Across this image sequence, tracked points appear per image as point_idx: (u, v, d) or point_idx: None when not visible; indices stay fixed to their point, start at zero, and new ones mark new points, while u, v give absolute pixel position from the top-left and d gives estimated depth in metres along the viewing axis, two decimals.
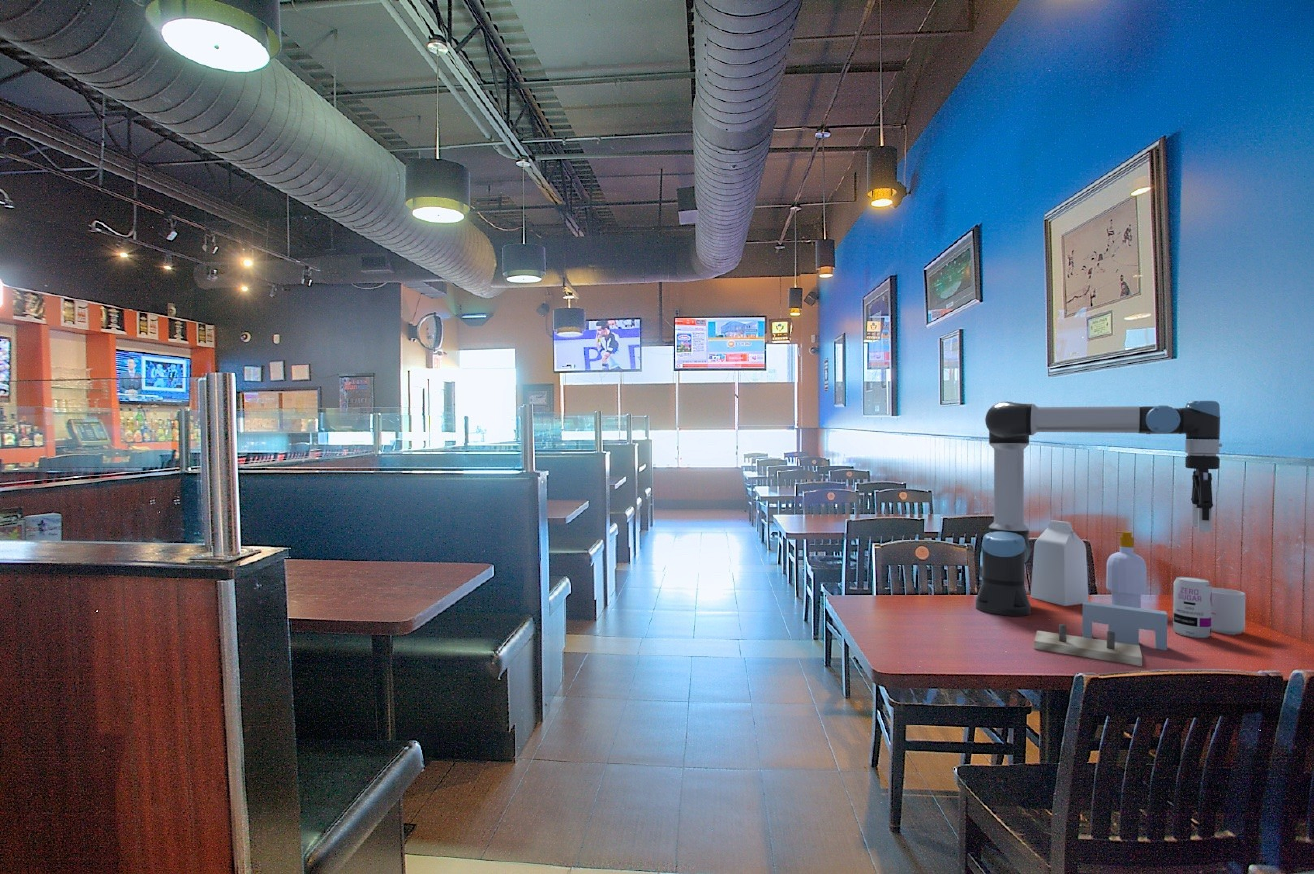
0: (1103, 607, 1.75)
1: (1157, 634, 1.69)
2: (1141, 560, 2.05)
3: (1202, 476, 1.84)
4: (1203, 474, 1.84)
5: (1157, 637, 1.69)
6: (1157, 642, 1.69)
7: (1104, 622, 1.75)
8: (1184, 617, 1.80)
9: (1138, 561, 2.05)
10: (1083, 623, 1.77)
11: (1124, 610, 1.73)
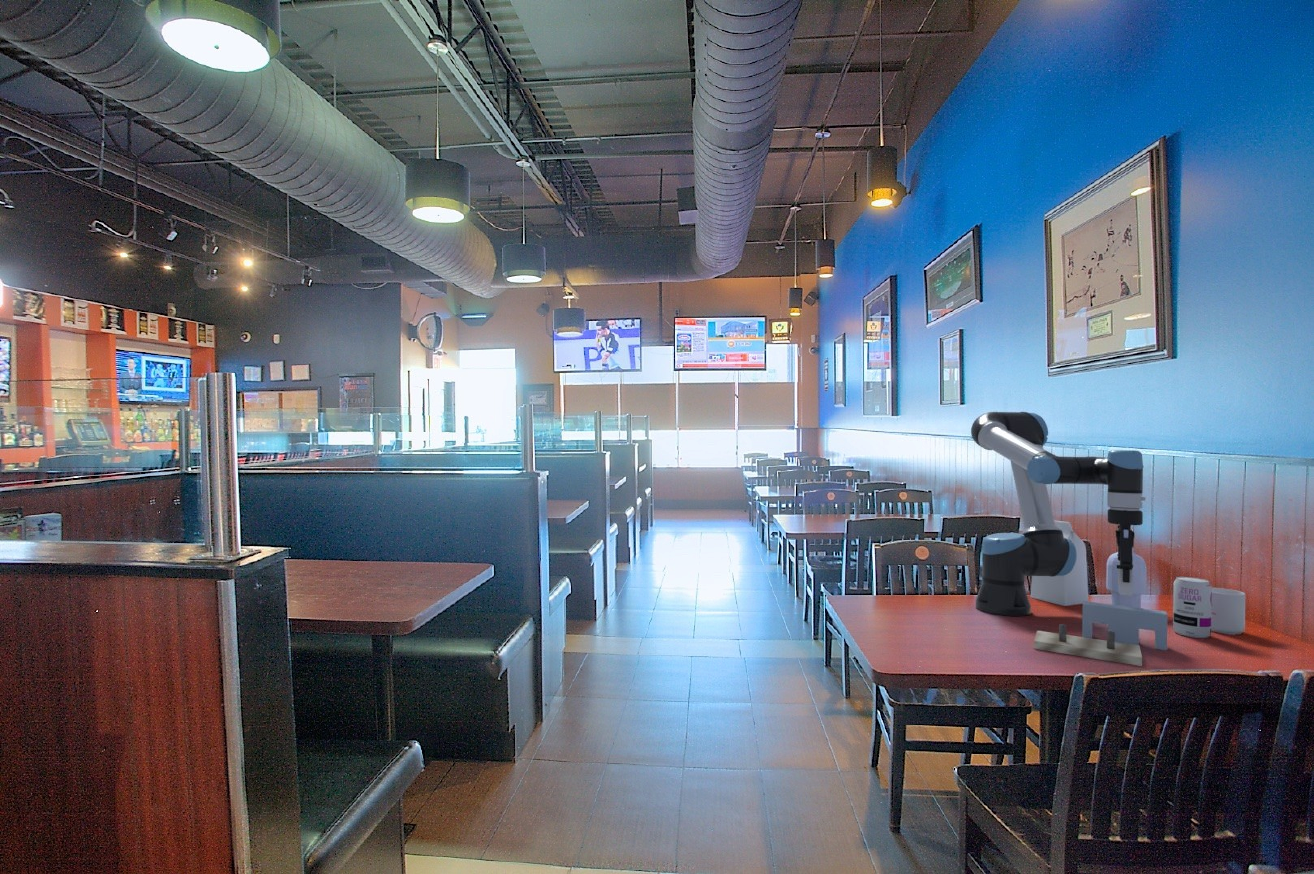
0: (1103, 607, 1.75)
1: (1157, 634, 1.69)
2: (1141, 560, 2.05)
3: (1122, 533, 1.69)
4: (1123, 531, 1.69)
5: (1157, 637, 1.69)
6: (1157, 642, 1.69)
7: (1104, 622, 1.75)
8: (1184, 617, 1.80)
9: (1138, 561, 2.05)
10: (1083, 623, 1.77)
11: (1124, 610, 1.73)
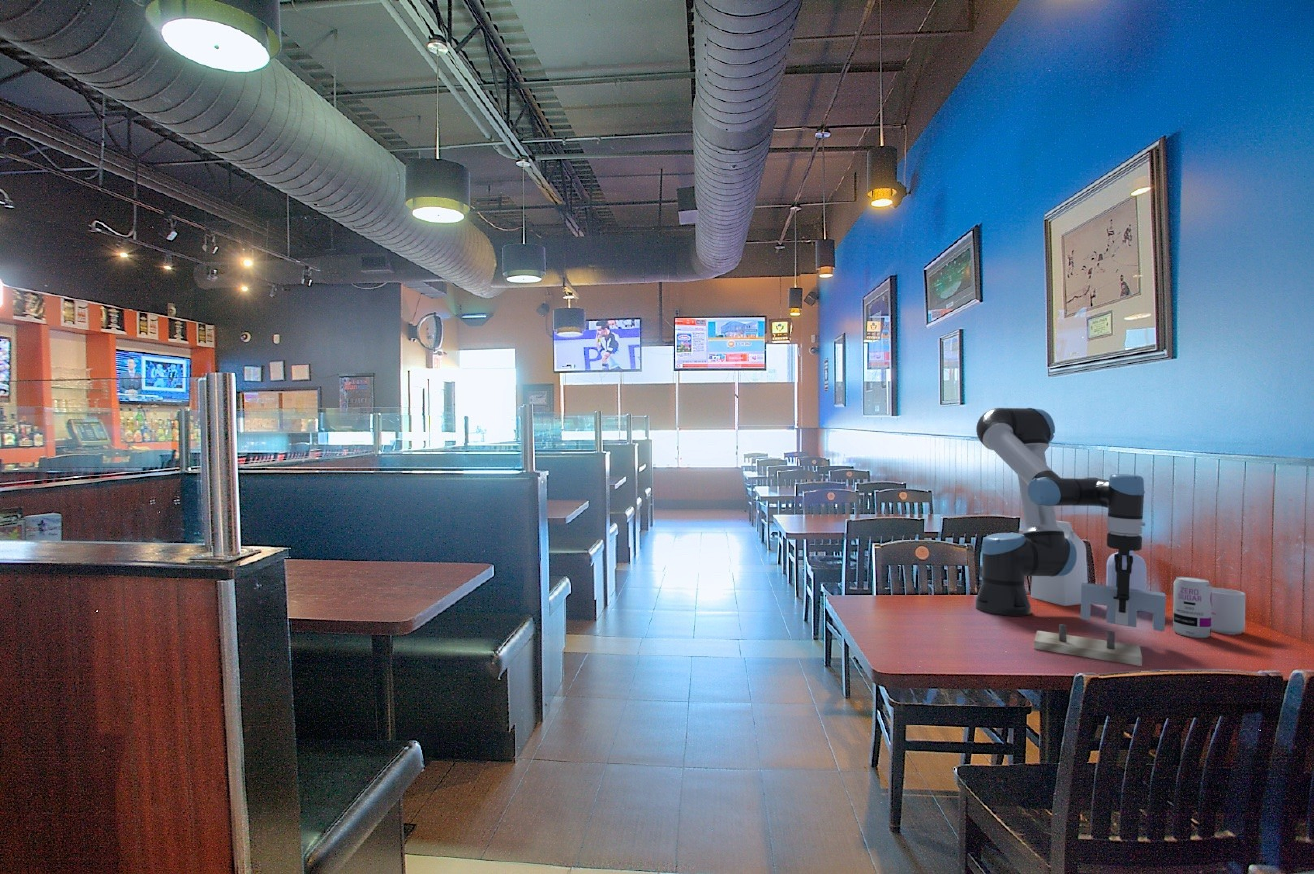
0: (1102, 589, 1.76)
1: (1155, 615, 1.70)
2: (1141, 560, 2.05)
3: (1121, 566, 1.70)
4: (1122, 564, 1.69)
5: (1155, 618, 1.70)
6: (1155, 623, 1.70)
7: (1102, 603, 1.76)
8: (1184, 617, 1.80)
9: (1138, 561, 2.05)
10: (1081, 604, 1.78)
11: None
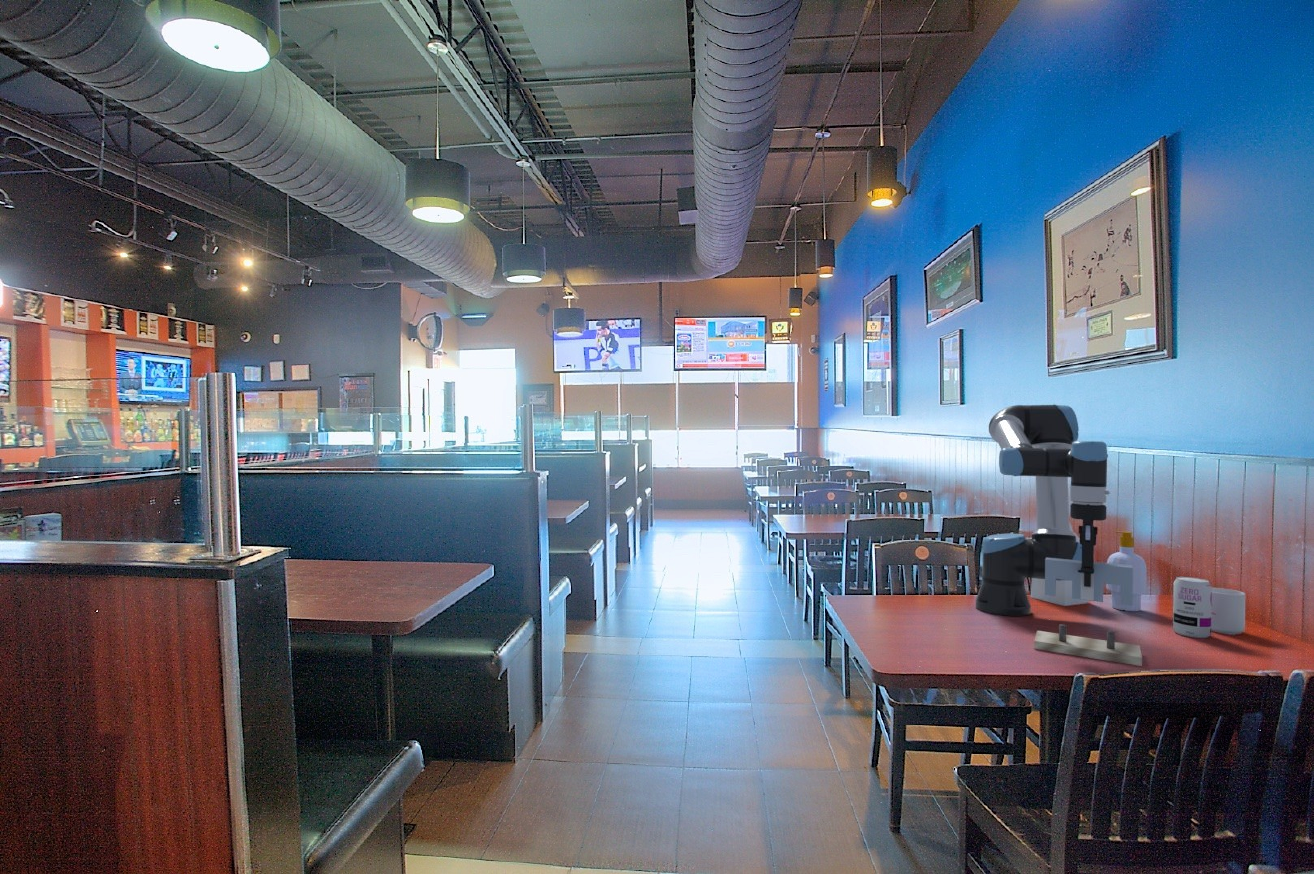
0: (1066, 562, 1.66)
1: (1122, 589, 1.59)
2: (1141, 560, 2.05)
3: (1084, 536, 1.60)
4: (1085, 534, 1.60)
5: (1122, 592, 1.59)
6: (1122, 597, 1.59)
7: (1067, 578, 1.65)
8: (1184, 617, 1.80)
9: (1138, 561, 2.05)
10: (1046, 580, 1.68)
11: None
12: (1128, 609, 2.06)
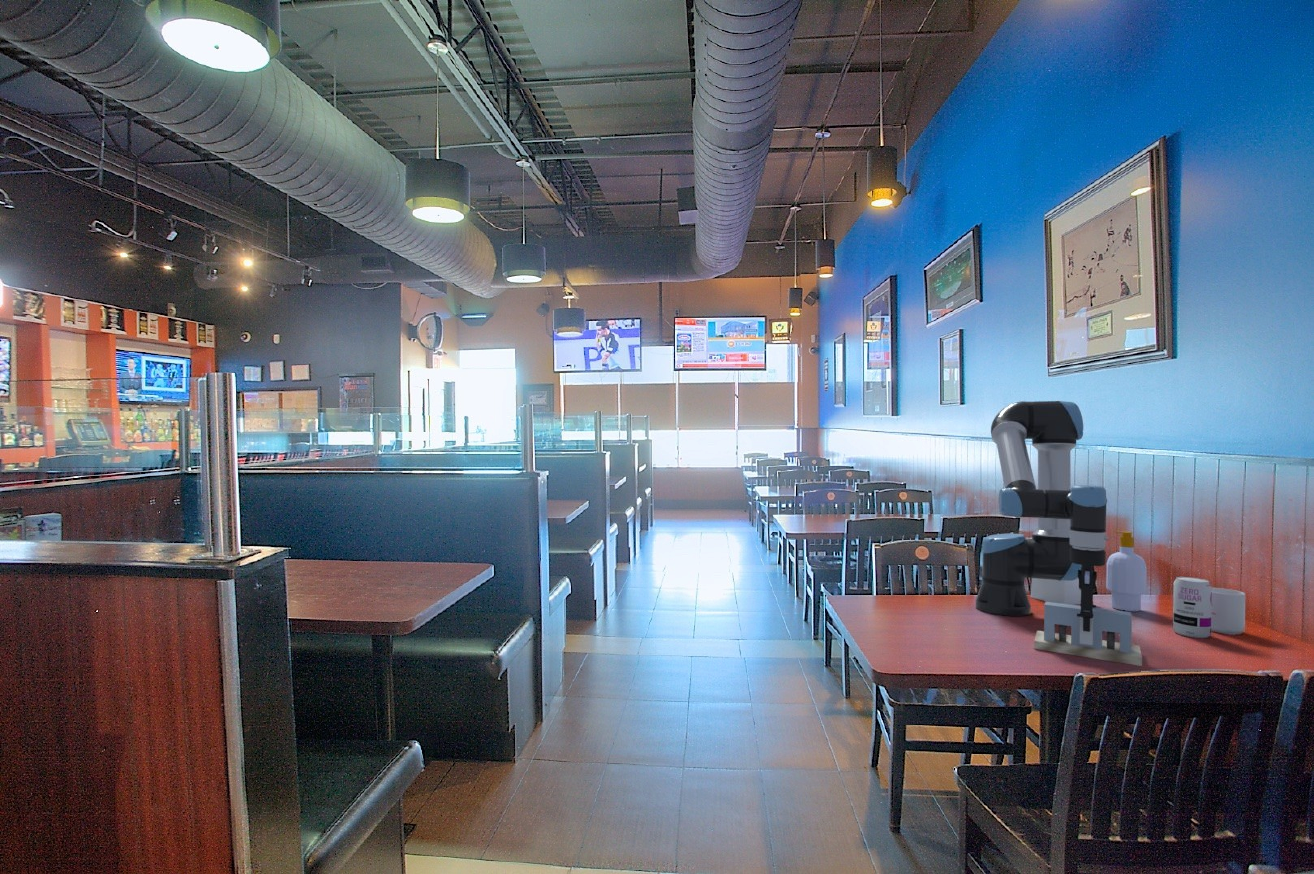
0: (1065, 608, 1.66)
1: (1121, 636, 1.59)
2: (1141, 560, 2.05)
3: (1083, 579, 1.60)
4: (1084, 577, 1.60)
5: (1121, 639, 1.59)
6: (1121, 645, 1.59)
7: (1066, 624, 1.66)
8: (1184, 617, 1.80)
9: (1138, 561, 2.05)
10: (1045, 625, 1.68)
11: (1087, 611, 1.63)
12: (1128, 609, 2.06)
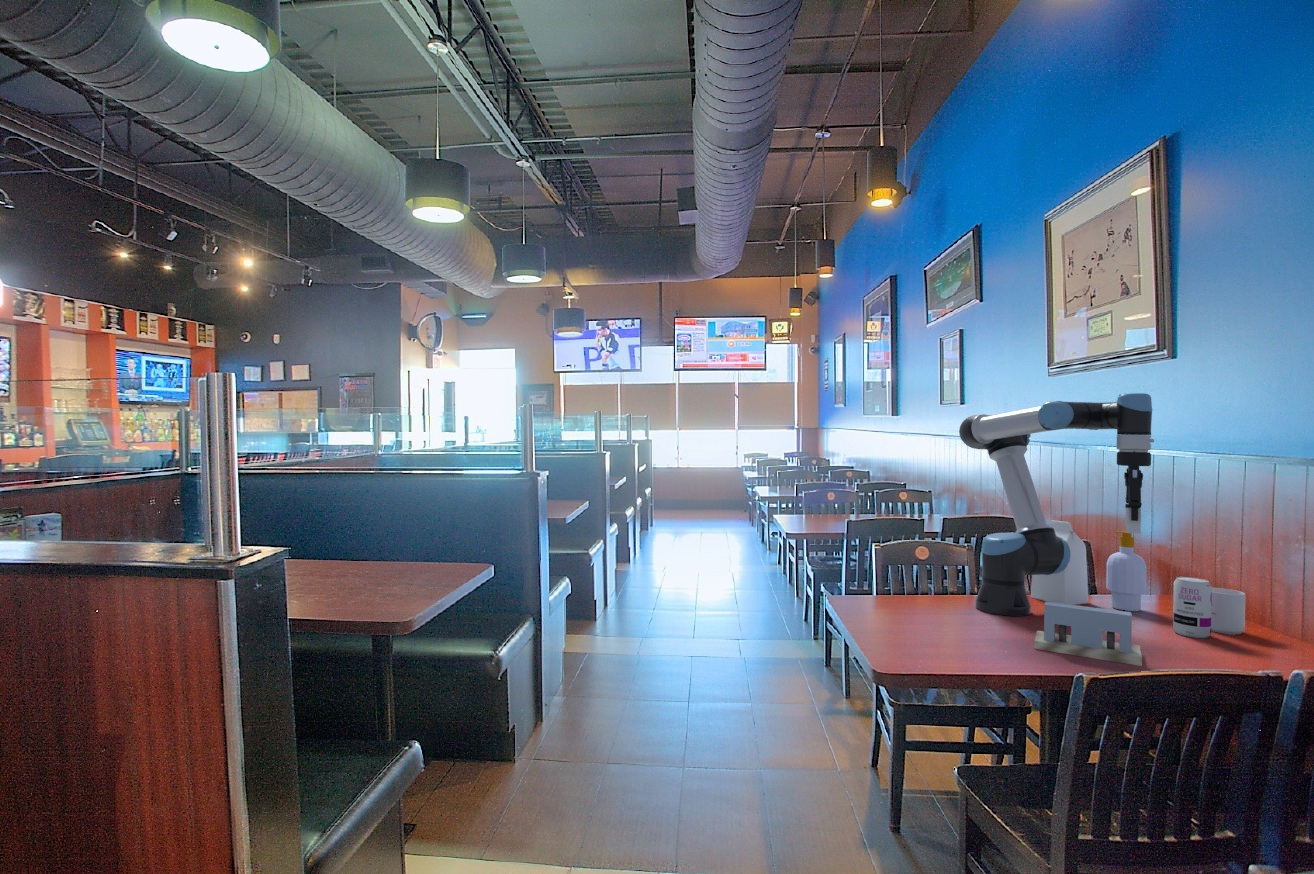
0: (1065, 608, 1.66)
1: (1121, 636, 1.59)
2: (1141, 560, 2.05)
3: (1131, 473, 1.73)
4: (1132, 471, 1.73)
5: (1121, 639, 1.59)
6: (1121, 645, 1.59)
7: (1066, 624, 1.66)
8: (1184, 617, 1.80)
9: (1138, 561, 2.05)
10: (1045, 625, 1.68)
11: (1087, 611, 1.63)
12: (1128, 609, 2.06)
